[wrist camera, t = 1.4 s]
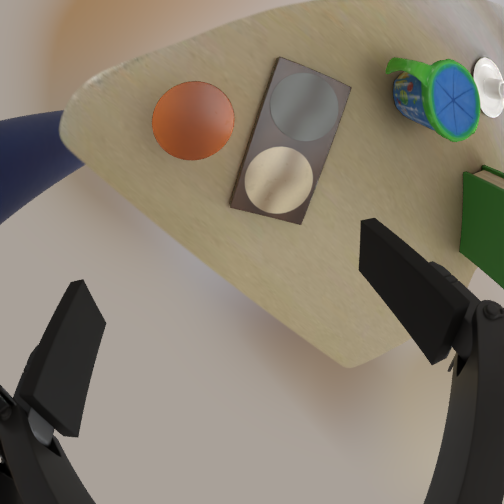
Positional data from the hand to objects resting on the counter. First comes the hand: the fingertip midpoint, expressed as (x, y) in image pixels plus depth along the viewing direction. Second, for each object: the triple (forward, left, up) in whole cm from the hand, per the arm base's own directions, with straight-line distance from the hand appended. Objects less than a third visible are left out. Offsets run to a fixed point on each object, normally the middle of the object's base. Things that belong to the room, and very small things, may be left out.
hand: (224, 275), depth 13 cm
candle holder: (+42, +32, -25) cm, 59 cm away
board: (+9, +5, -25) cm, 27 cm away
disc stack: (-3, +5, -25) cm, 26 cm away
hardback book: (+50, +8, -25) cm, 57 cm away
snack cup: (+24, +19, -25) cm, 40 cm away
